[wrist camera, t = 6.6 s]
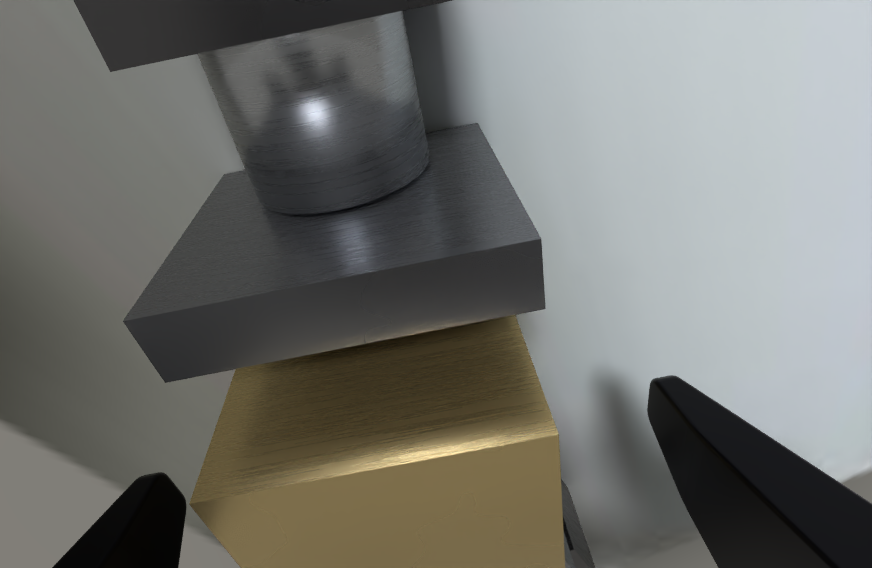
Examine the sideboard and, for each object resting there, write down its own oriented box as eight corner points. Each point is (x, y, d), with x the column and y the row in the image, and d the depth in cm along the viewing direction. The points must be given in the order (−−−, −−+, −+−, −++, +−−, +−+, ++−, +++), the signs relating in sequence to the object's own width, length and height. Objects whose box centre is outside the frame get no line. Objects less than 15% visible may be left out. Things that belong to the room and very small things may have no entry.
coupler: (333, 405, 13) (307, 650, 9) (271, 264, 11) (188, 504, 6) (502, 373, 13) (567, 603, 8) (481, 222, 10) (558, 435, 6)
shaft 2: (94, -119, 7) (-230, -191, 3) (438, -193, 7) (506, -356, 3) (244, 221, 10) (165, 382, 6) (484, 173, 10) (545, 308, 6)
